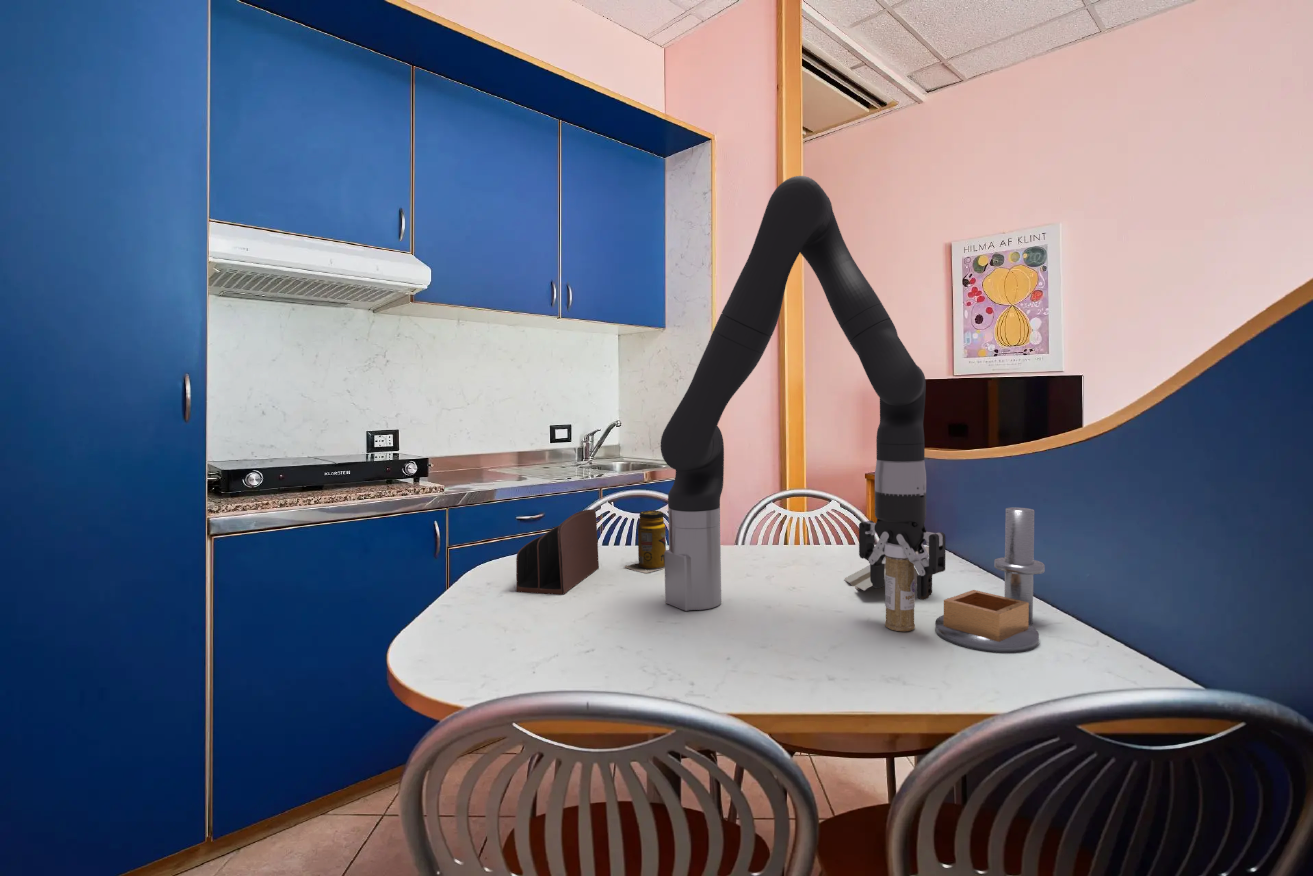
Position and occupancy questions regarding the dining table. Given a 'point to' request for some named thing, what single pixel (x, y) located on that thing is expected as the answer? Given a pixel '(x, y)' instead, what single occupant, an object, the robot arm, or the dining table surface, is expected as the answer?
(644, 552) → the condiment
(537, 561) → the letter holder
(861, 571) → the tilted grey ramp
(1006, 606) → the caddy stand
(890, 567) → the sprinkles bottle
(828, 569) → the dining table surface
